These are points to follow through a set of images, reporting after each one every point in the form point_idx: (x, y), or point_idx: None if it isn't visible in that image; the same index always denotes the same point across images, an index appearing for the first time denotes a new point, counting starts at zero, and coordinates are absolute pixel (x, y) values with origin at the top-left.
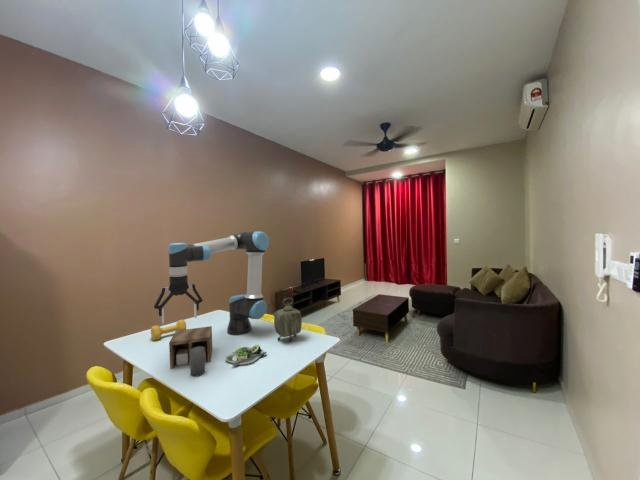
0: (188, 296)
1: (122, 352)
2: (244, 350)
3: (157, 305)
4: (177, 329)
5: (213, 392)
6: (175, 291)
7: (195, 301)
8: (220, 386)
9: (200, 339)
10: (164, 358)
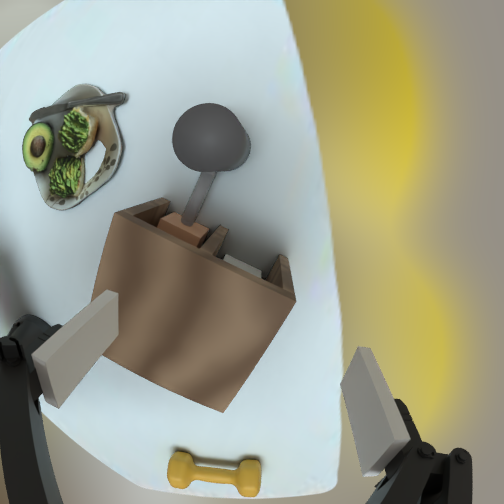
0: (42, 485)
1: (338, 445)
2: (58, 166)
3: (454, 474)
4: (193, 466)
5: (237, 8)
6: None
7: (16, 381)
8: (208, 21)
9: (156, 231)
10: (275, 349)
